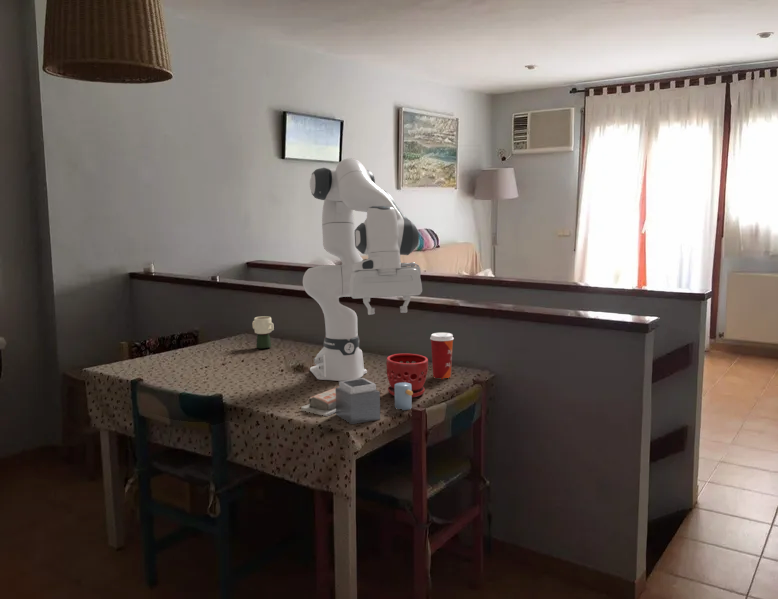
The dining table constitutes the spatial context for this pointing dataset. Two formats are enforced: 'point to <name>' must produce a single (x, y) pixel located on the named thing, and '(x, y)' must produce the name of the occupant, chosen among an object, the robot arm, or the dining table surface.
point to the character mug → (263, 331)
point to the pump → (403, 396)
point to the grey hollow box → (357, 401)
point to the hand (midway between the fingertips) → (387, 313)
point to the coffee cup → (441, 354)
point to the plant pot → (407, 372)
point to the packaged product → (322, 403)
